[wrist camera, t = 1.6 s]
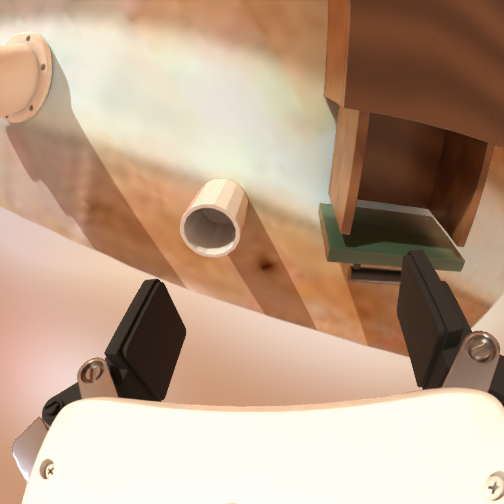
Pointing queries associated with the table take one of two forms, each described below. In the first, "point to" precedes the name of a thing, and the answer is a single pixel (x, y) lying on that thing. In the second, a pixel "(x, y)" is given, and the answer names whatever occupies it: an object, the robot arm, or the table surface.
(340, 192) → the drawer
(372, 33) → the cabinet
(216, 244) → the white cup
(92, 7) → the table surface
